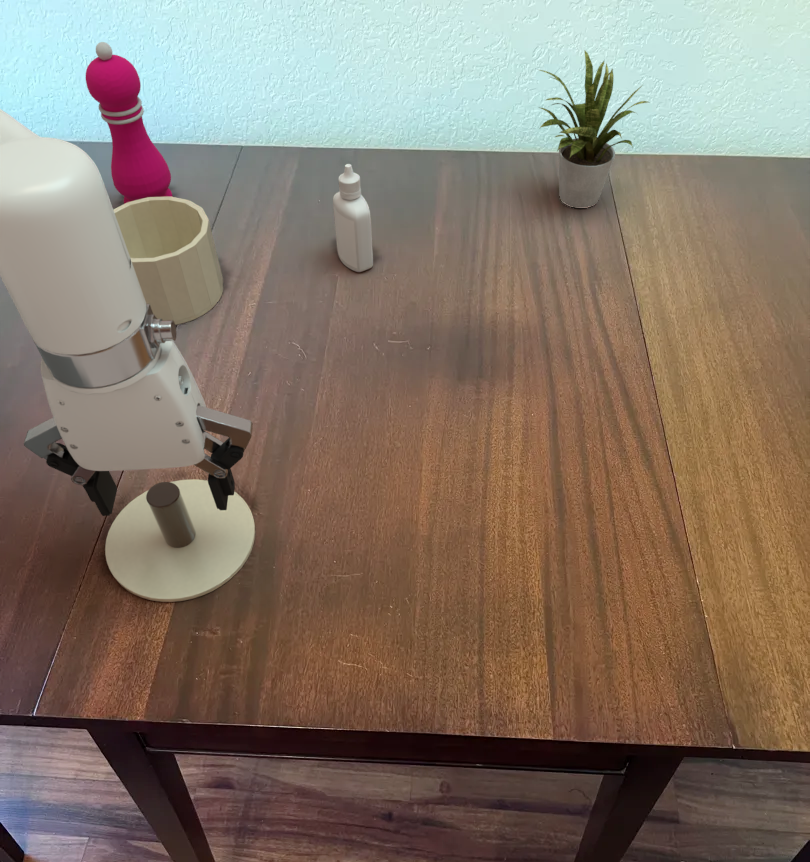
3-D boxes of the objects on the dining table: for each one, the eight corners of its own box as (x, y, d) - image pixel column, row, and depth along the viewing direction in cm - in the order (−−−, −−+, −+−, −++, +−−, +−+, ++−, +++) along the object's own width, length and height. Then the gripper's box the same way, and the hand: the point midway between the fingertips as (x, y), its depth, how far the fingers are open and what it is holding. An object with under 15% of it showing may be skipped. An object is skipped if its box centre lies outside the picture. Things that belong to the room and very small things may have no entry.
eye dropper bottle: (337, 274, 94) (328, 180, 85) (337, 247, 98) (328, 153, 88) (373, 273, 95) (368, 178, 85) (372, 245, 98) (367, 151, 88)
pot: (109, 328, 89) (83, 263, 82) (127, 262, 96) (105, 198, 90) (218, 324, 89) (201, 259, 83) (227, 259, 97) (213, 194, 90)
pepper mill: (153, 230, 100) (101, 62, 84) (112, 214, 103) (54, 48, 86) (190, 203, 104) (147, 37, 88) (149, 188, 106) (101, 23, 90)
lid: (96, 609, 68) (66, 563, 62) (122, 489, 75) (97, 438, 70) (251, 602, 68) (235, 556, 62) (261, 483, 75) (248, 432, 70)
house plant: (507, 171, 108) (520, 40, 94) (604, 160, 109) (629, 29, 96) (536, 230, 99) (554, 96, 86) (640, 217, 101) (673, 83, 87)
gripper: (232, 299, 55) (271, 462, 68) (-16, 310, 54) (74, 471, 68) (222, 372, 50) (266, 530, 64) (-48, 384, 50) (55, 540, 64)
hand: (167, 500), depth 66 cm, fingers open, 9 cm apart
